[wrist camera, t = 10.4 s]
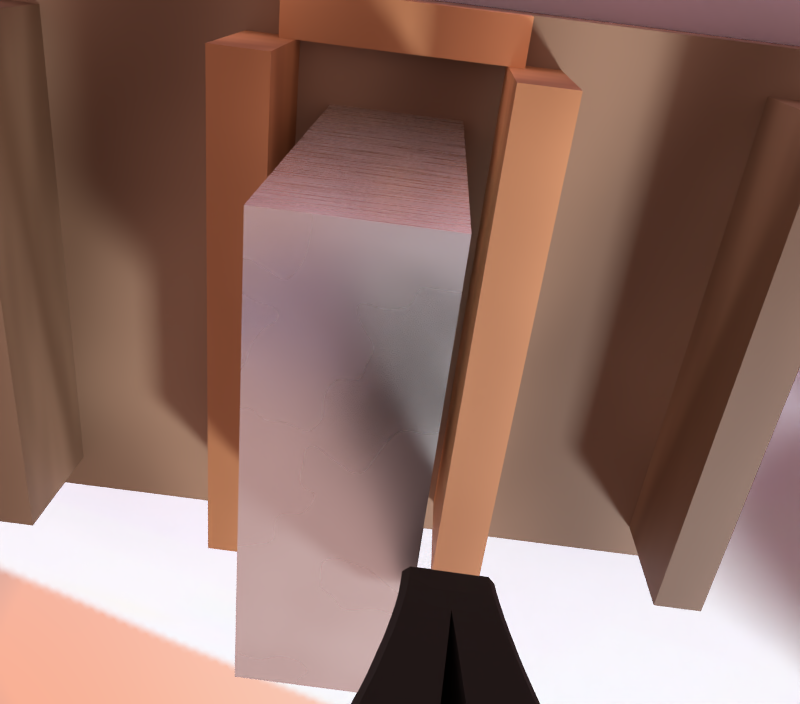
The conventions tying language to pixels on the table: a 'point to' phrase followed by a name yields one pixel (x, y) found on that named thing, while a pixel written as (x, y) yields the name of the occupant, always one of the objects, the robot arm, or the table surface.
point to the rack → (485, 271)
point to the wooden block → (343, 384)
